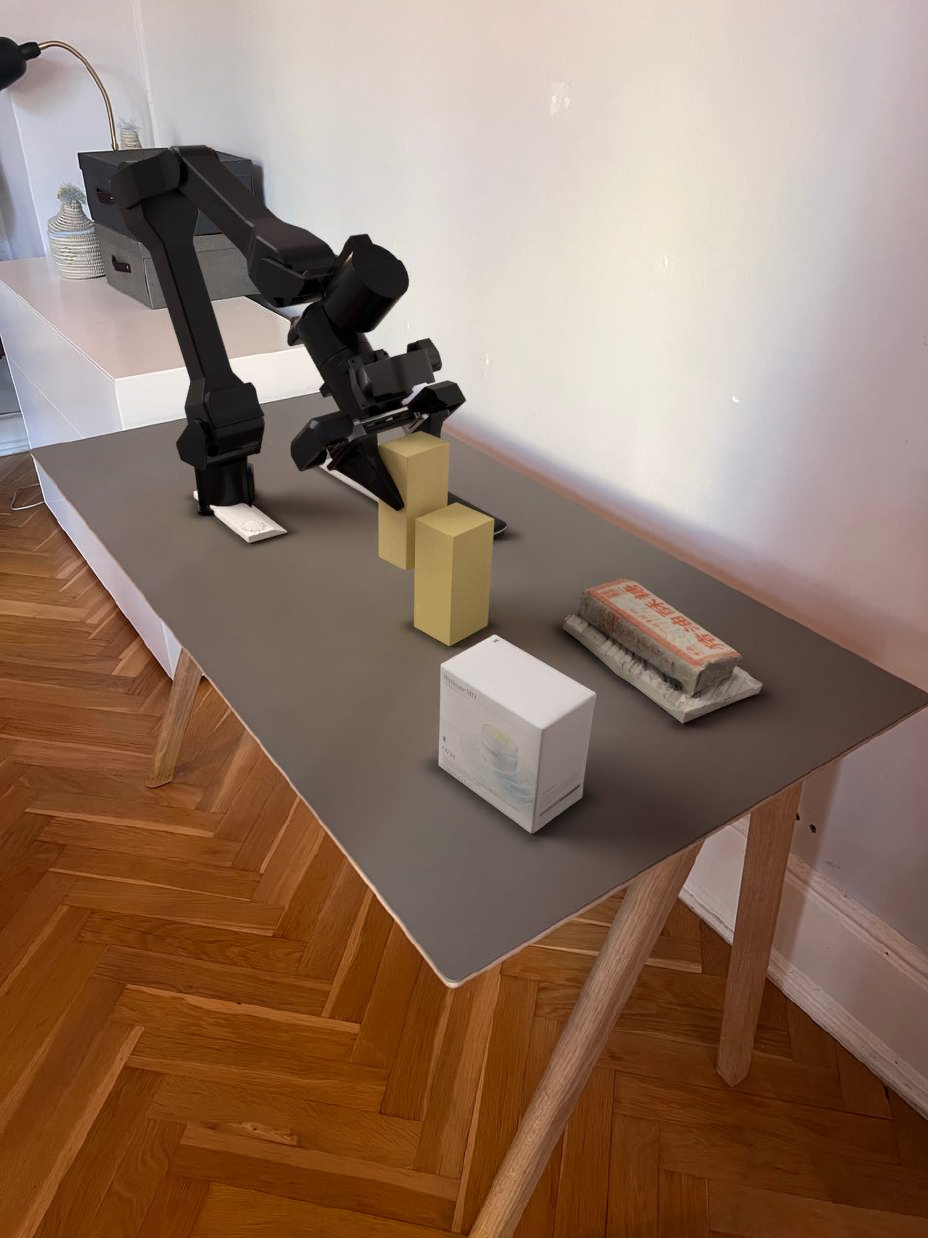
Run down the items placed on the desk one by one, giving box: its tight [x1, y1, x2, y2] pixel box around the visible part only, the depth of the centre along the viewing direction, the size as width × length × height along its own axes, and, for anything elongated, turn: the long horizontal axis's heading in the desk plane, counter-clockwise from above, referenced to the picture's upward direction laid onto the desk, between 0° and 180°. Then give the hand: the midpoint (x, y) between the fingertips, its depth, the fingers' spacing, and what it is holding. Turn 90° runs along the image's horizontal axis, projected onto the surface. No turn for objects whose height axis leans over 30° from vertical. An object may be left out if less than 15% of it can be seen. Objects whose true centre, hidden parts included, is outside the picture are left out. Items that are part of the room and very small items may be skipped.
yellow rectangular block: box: [378, 431, 451, 572], centre depth 89 cm, size 4×6×12 cm
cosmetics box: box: [438, 634, 598, 834], centre depth 70 cm, size 10×6×10 cm, turn 45°
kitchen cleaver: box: [318, 443, 508, 539], centre depth 118 cm, size 31×2×10 cm
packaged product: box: [562, 578, 764, 724], centre depth 87 cm, size 18×5×10 cm
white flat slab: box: [193, 490, 288, 544], centre depth 111 cm, size 5×15×1 cm, turn 38°
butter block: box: [413, 502, 494, 647], centre depth 89 cm, size 5×6×12 cm
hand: (423, 500), depth 88 cm, fingers closed on yellow rectangular block, 5 cm apart
